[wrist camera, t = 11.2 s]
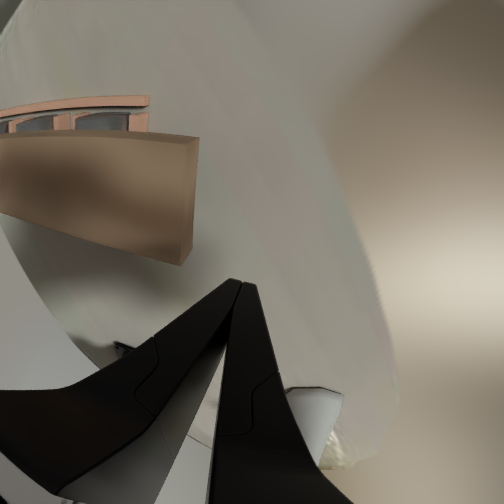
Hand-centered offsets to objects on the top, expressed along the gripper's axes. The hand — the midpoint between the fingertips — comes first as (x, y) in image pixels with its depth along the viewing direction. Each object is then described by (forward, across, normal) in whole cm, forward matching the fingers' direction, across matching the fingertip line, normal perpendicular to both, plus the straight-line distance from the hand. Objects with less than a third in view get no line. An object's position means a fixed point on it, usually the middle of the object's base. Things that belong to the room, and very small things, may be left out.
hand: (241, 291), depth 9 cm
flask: (+9, -9, +22) cm, 25 cm away
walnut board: (+5, +12, 0) cm, 13 cm away
